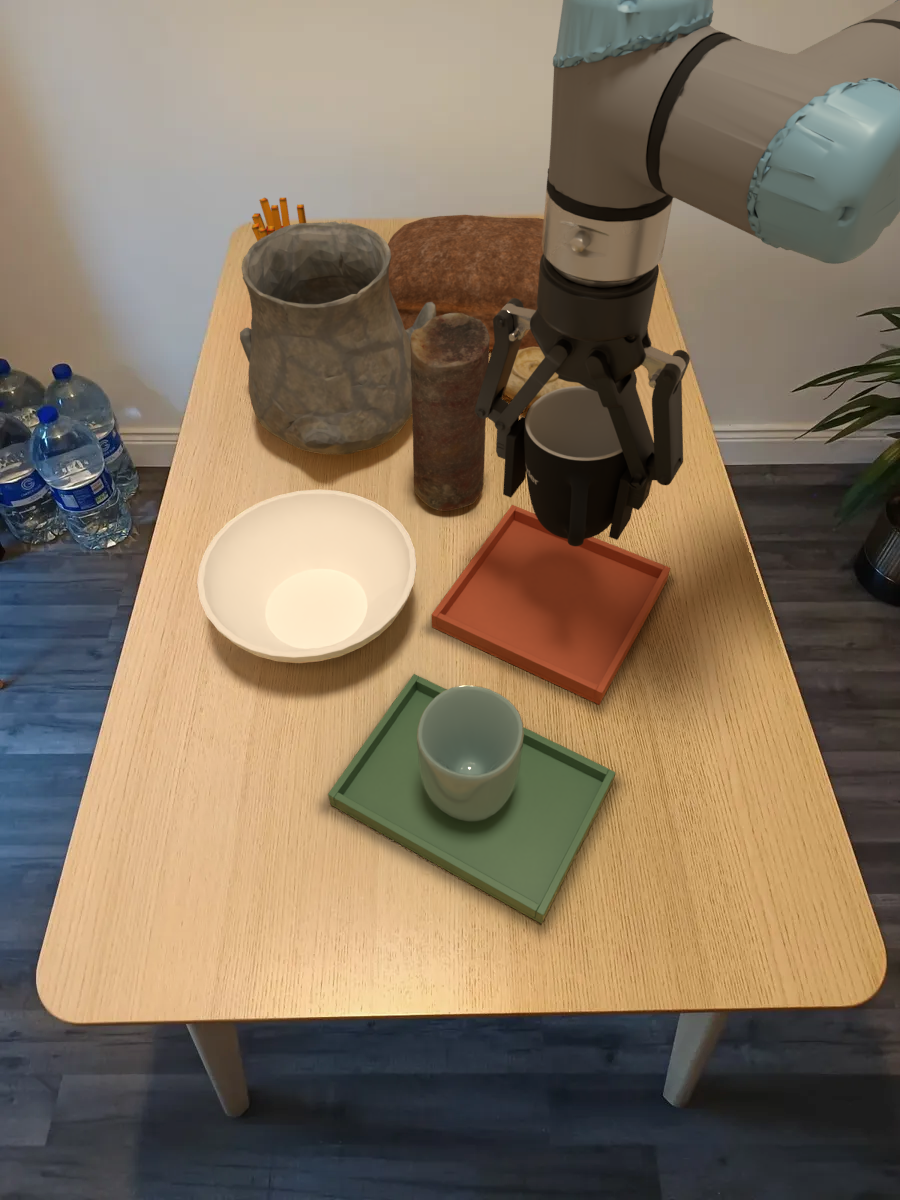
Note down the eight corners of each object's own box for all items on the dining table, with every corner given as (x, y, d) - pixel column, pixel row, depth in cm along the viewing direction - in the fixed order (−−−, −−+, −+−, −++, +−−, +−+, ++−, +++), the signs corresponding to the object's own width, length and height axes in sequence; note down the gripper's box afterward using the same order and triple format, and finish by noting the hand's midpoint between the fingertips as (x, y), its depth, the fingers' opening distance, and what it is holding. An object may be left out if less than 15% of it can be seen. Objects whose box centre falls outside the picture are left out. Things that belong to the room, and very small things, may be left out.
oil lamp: (617, 433, 98) (623, 398, 94) (490, 430, 98) (491, 395, 94) (610, 374, 104) (616, 339, 100) (492, 372, 105) (493, 337, 101)
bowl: (232, 536, 89) (217, 489, 83) (422, 536, 88) (419, 488, 83) (197, 700, 77) (176, 657, 71) (416, 699, 76) (412, 656, 71)
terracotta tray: (667, 580, 84) (671, 567, 83) (599, 705, 76) (602, 693, 74) (511, 517, 90) (512, 504, 88) (431, 627, 81) (431, 614, 80)
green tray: (612, 783, 71) (615, 772, 70) (541, 924, 64) (543, 915, 63) (414, 685, 77) (413, 673, 76) (330, 804, 70) (327, 794, 69)
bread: (397, 272, 118) (391, 190, 109) (612, 287, 115) (625, 203, 106) (373, 347, 108) (365, 263, 99) (609, 365, 105) (623, 280, 96)
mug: (525, 476, 77) (527, 383, 70) (626, 480, 76) (640, 386, 69) (516, 577, 70) (518, 486, 62) (628, 583, 69) (644, 491, 61)
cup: (531, 768, 72) (540, 706, 64) (494, 851, 67) (498, 795, 59) (446, 733, 74) (445, 669, 66) (405, 811, 69) (398, 752, 61)
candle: (497, 502, 91) (505, 341, 75) (438, 529, 89) (433, 369, 73) (459, 460, 95) (459, 299, 79) (401, 485, 93) (389, 324, 77)
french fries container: (268, 340, 109) (246, 235, 98) (275, 299, 115) (255, 195, 104) (324, 339, 109) (308, 234, 98) (328, 297, 115) (314, 194, 104)
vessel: (223, 484, 93) (174, 324, 77) (266, 358, 107) (232, 200, 91) (422, 494, 92) (414, 333, 76) (440, 365, 105) (437, 206, 90)
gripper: (421, 240, 56) (431, 488, 73) (749, 339, 49) (672, 587, 67) (478, 189, 60) (474, 437, 77) (788, 274, 53) (705, 525, 71)
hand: (565, 506), depth 72 cm, fingers closed on mug, 9 cm apart
